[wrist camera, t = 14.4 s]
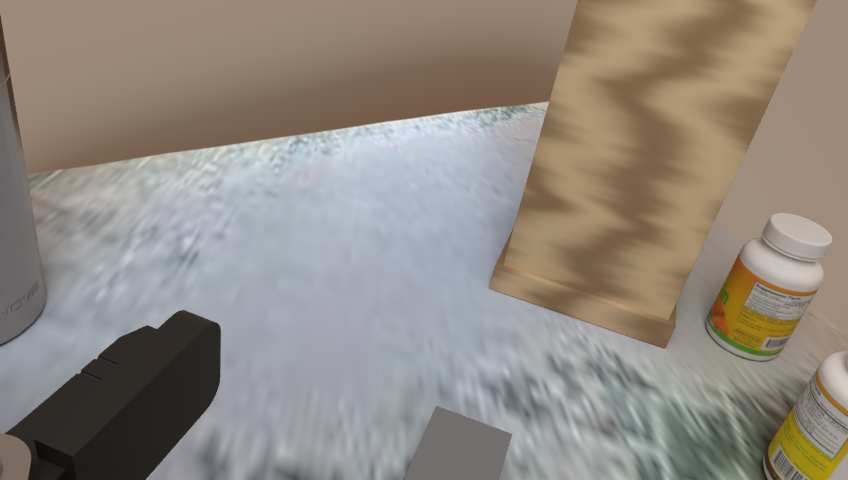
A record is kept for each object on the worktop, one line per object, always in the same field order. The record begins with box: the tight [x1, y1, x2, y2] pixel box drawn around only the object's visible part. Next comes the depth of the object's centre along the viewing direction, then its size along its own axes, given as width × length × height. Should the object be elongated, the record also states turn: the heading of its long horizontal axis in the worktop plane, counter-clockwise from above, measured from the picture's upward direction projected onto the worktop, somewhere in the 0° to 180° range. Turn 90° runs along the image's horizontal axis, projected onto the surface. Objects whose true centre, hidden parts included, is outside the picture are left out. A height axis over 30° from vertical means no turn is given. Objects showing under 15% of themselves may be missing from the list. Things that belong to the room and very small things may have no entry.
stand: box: [489, 0, 817, 348], centre depth 46 cm, size 13×13×32 cm
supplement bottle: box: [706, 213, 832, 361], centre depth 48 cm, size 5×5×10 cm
